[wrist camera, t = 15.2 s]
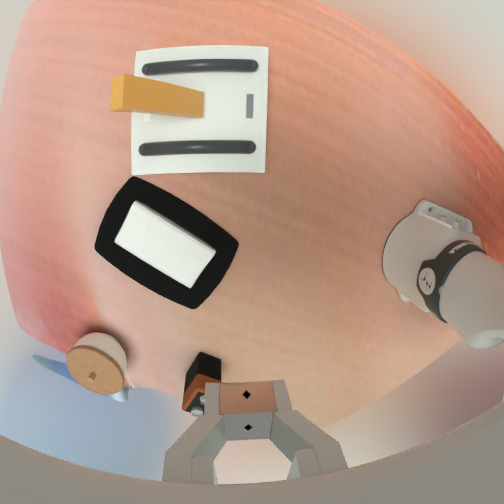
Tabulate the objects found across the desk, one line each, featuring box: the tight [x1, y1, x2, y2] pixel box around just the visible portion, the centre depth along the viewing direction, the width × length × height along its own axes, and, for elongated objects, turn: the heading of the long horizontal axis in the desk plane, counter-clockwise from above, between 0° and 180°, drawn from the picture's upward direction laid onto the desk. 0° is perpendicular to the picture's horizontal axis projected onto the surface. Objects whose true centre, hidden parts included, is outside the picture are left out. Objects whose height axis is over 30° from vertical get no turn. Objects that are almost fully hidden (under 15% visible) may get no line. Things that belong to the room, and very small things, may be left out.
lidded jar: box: [66, 332, 127, 395], centre depth 41 cm, size 11×11×9 cm
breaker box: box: [131, 45, 269, 175], centre depth 31 cm, size 16×16×7 cm
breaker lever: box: [110, 74, 204, 118], centre depth 24 cm, size 2×3×12 cm, turn 179°
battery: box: [182, 353, 221, 417], centre depth 44 cm, size 4×7×10 cm, turn 150°
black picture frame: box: [95, 177, 239, 309], centre depth 39 cm, size 20×3×14 cm
